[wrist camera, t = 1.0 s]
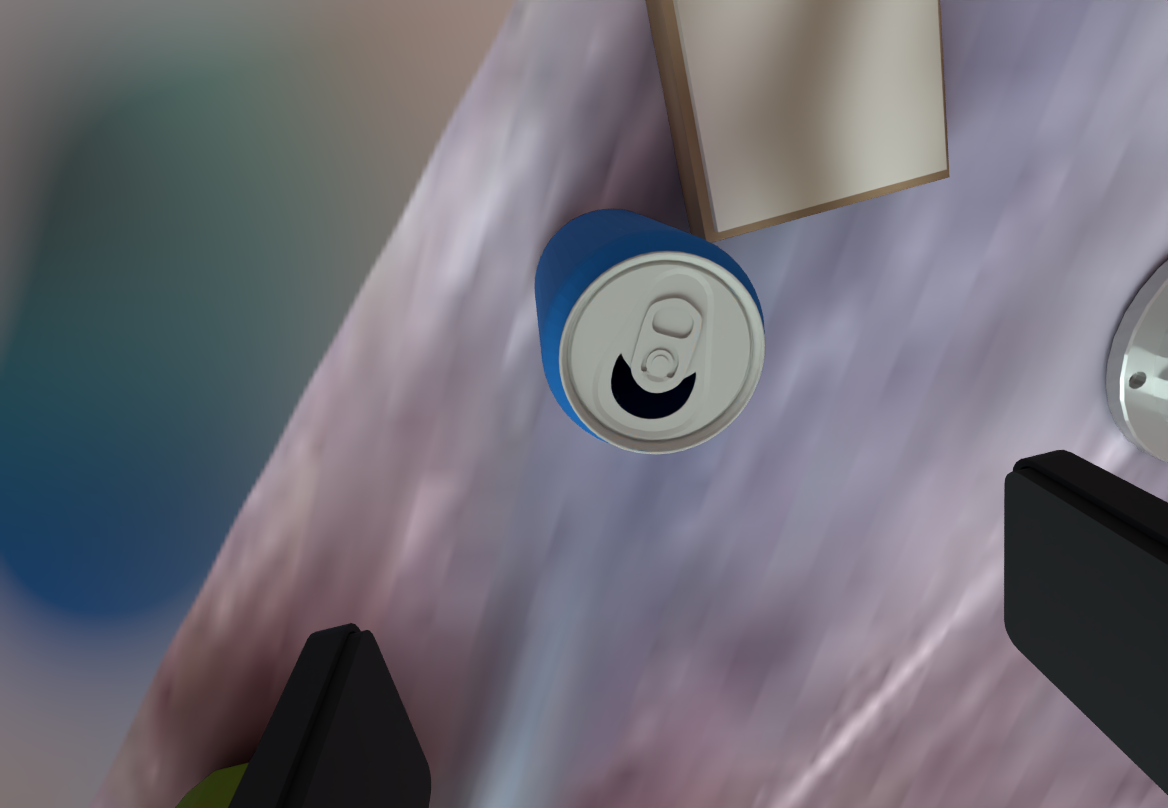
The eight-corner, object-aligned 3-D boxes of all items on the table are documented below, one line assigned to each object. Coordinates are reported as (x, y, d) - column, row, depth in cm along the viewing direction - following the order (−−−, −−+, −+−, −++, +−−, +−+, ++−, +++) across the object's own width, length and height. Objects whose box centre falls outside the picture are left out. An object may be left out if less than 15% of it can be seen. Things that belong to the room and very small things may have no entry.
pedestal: (894, -94, 25) (942, -127, 22) (914, 176, 28) (957, 177, 26) (641, -23, 25) (656, -48, 22) (691, 237, 28) (710, 245, 26)
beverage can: (519, 336, 29) (517, 441, 18) (555, 189, 27) (579, 203, 16) (655, 369, 30) (734, 488, 19) (699, 230, 28) (817, 271, 17)
